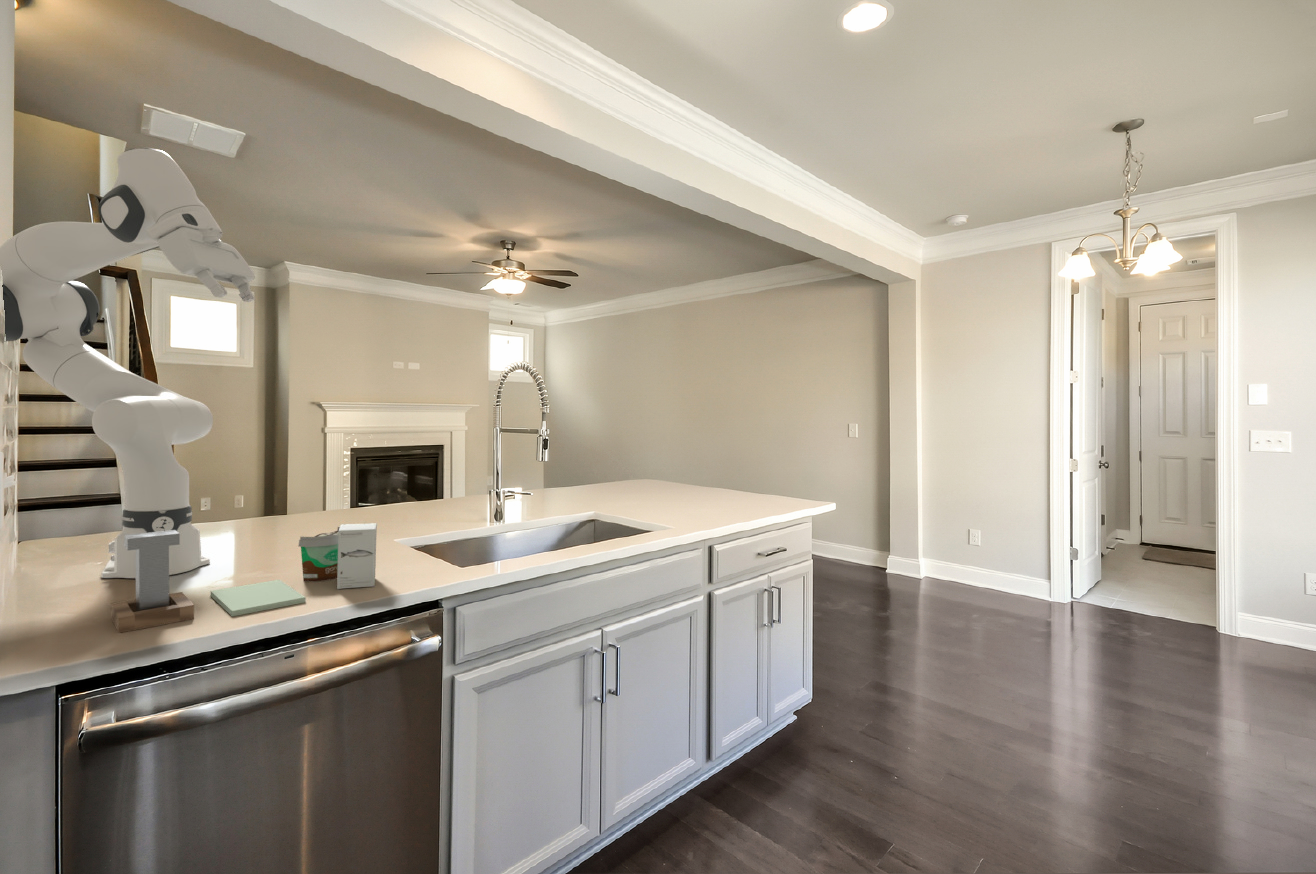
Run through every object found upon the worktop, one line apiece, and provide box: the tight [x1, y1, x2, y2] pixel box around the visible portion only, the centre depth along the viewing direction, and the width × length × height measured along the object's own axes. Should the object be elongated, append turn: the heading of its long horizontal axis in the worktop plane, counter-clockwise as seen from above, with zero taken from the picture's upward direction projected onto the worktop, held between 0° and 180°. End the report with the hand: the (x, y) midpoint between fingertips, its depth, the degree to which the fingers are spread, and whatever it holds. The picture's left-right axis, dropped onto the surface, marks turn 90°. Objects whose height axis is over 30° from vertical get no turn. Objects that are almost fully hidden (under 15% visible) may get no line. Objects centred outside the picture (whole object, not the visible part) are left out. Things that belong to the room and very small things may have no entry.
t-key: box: [124, 530, 180, 612], centre depth 107 cm, size 4×7×15 cm, turn 138°
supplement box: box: [336, 522, 378, 590], centre depth 130 cm, size 7×7×13 cm
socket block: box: [110, 591, 195, 634], centre depth 107 cm, size 10×10×2 cm
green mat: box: [210, 579, 307, 617], centre depth 119 cm, size 16×12×1 cm
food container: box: [297, 526, 340, 582], centre depth 135 cm, size 12×6×10 cm, turn 168°
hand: (236, 298), depth 116 cm, fingers open, 8 cm apart
